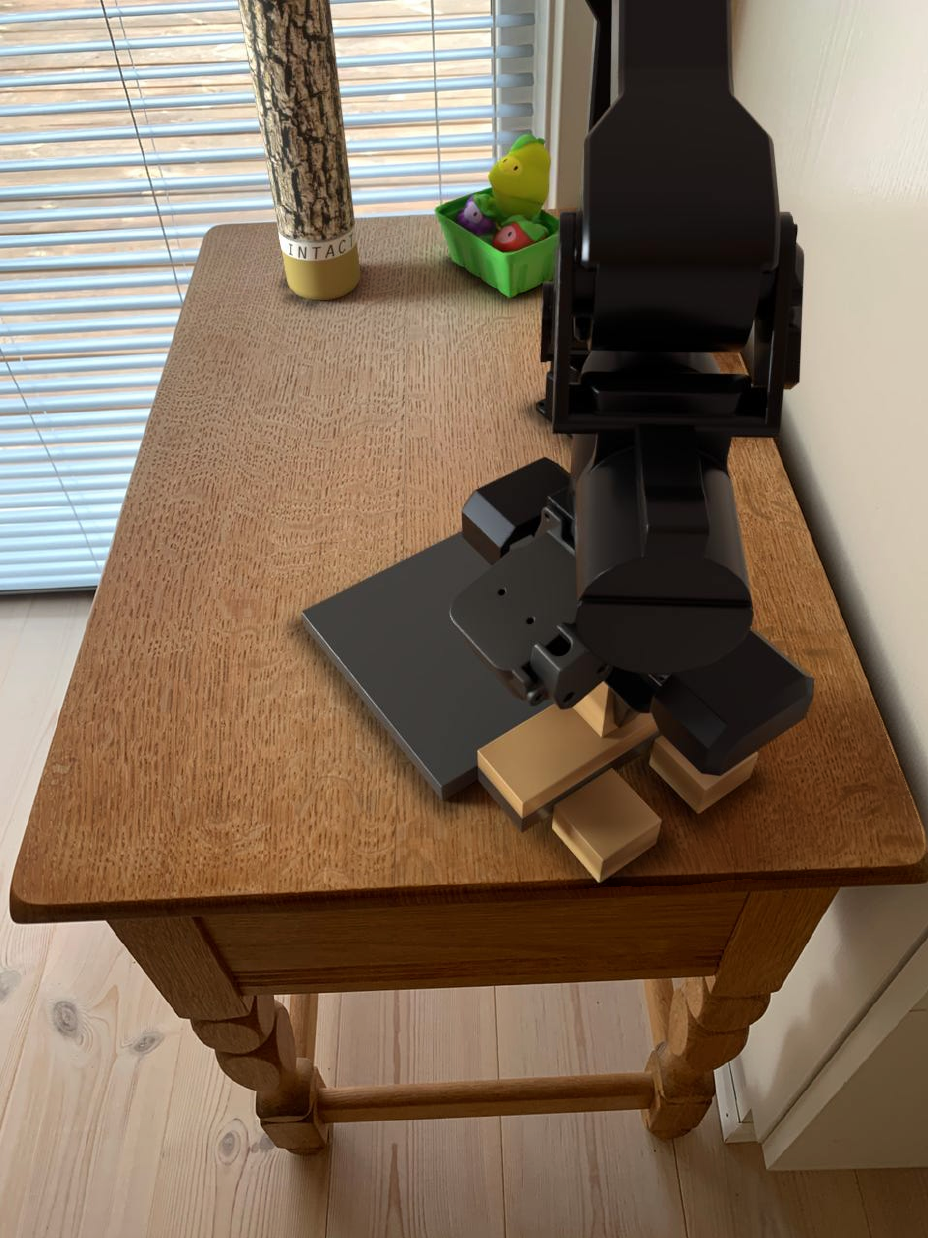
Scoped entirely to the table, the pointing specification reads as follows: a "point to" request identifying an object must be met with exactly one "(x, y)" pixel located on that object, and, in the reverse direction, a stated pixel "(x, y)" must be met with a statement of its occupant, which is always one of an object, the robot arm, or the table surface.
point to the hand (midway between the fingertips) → (606, 704)
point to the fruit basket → (506, 222)
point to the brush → (559, 755)
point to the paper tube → (304, 141)
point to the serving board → (421, 661)
